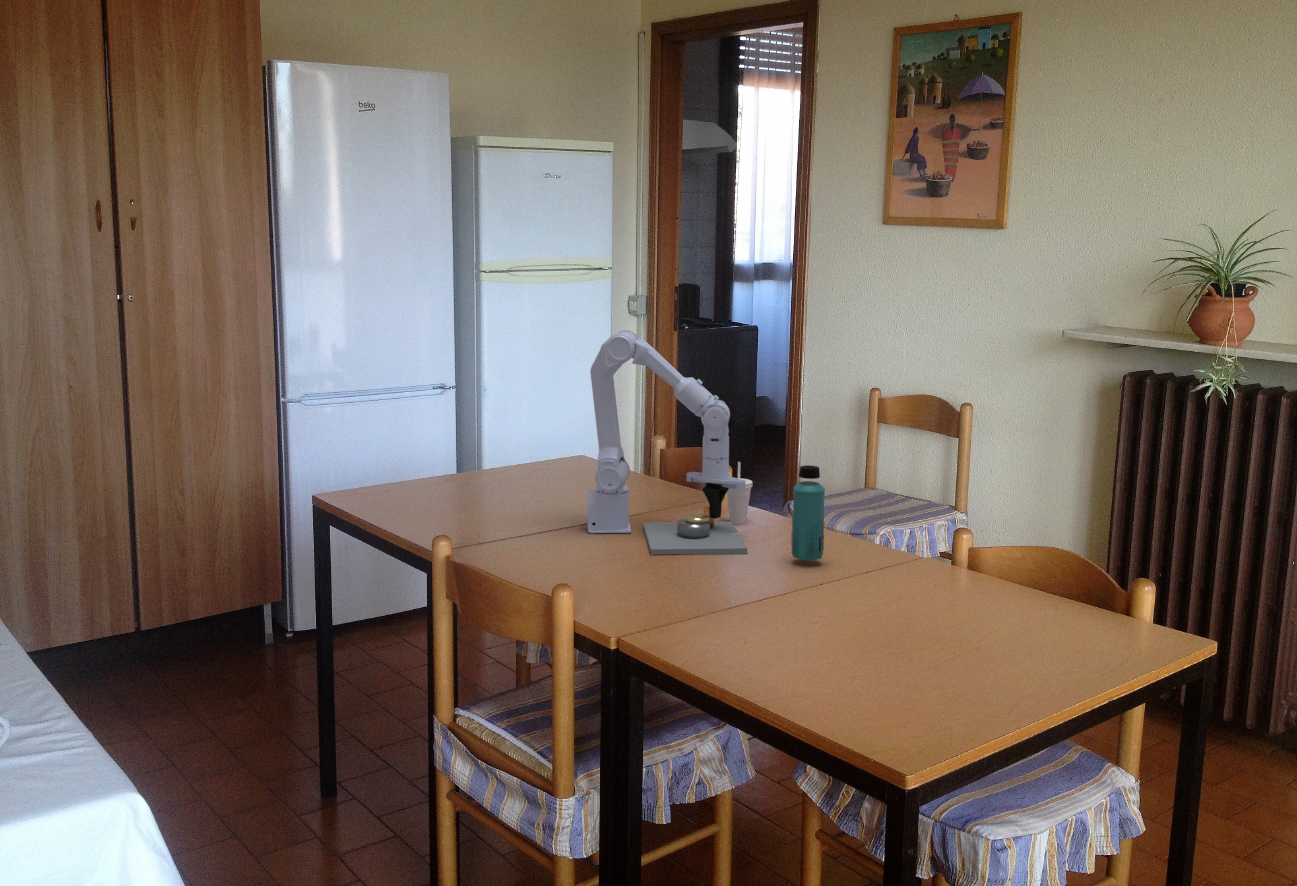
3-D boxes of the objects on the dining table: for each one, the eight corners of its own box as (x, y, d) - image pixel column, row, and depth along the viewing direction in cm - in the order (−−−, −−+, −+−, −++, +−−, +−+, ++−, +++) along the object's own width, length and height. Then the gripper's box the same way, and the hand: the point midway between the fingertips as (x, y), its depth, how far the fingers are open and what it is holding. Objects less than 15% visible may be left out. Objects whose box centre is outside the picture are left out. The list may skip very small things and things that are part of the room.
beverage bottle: (822, 568, 231) (826, 470, 227) (788, 566, 232) (792, 468, 228) (824, 559, 237) (827, 463, 233) (791, 557, 238) (794, 462, 235)
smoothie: (751, 519, 269) (753, 460, 266) (751, 526, 263) (753, 465, 260) (724, 518, 270) (725, 459, 267) (723, 525, 263) (724, 465, 261)
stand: (651, 555, 239) (651, 548, 239) (643, 527, 261) (643, 522, 260) (747, 553, 241) (747, 547, 240) (731, 526, 262) (731, 521, 262)
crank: (700, 539, 246) (700, 519, 245) (671, 534, 249) (671, 515, 248) (725, 526, 256) (725, 507, 255) (697, 522, 259) (697, 503, 259)
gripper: (753, 458, 251) (752, 519, 254) (700, 450, 260) (699, 509, 263) (735, 463, 246) (734, 525, 248) (680, 455, 255) (680, 515, 257)
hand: (715, 517), depth 255 cm, fingers closed, pressing on crank
